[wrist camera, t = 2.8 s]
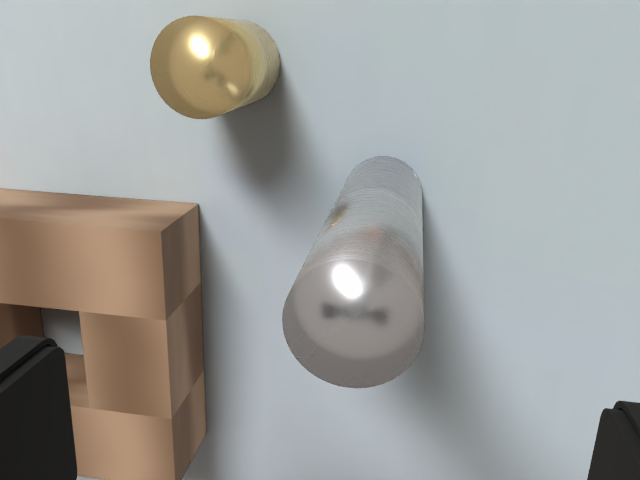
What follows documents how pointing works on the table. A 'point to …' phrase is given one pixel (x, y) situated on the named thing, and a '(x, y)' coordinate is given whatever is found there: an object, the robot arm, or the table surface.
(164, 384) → the socket block
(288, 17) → the table surface
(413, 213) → the long pin
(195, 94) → the short pin
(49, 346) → the robot arm
